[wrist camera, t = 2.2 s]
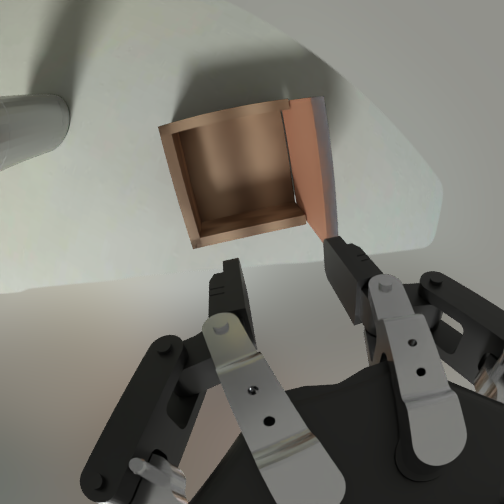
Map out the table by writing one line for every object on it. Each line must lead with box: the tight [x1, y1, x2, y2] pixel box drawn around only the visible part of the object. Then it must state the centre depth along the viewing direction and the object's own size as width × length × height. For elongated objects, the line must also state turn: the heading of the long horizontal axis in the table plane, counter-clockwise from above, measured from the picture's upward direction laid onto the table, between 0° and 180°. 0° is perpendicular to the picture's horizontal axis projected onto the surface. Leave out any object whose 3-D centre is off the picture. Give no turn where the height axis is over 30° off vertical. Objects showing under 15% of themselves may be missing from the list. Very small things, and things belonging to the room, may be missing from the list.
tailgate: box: [282, 96, 338, 242], centre depth 29 cm, size 1×15×12 cm, turn 11°
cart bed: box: [158, 99, 306, 249], centre depth 33 cm, size 14×15×8 cm
